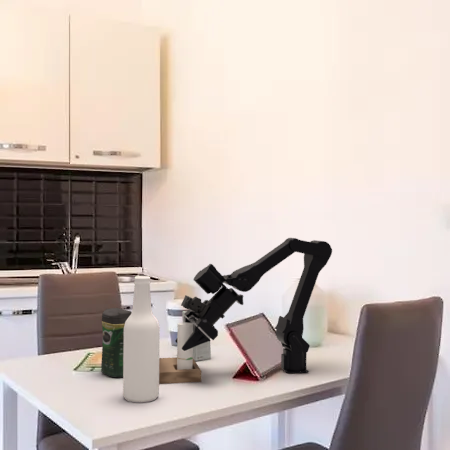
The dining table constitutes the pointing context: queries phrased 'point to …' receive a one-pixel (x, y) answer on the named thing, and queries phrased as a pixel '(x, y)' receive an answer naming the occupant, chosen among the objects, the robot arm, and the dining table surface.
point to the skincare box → (200, 348)
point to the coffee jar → (113, 341)
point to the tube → (182, 336)
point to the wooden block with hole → (177, 372)
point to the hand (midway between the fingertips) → (179, 346)
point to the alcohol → (141, 347)
